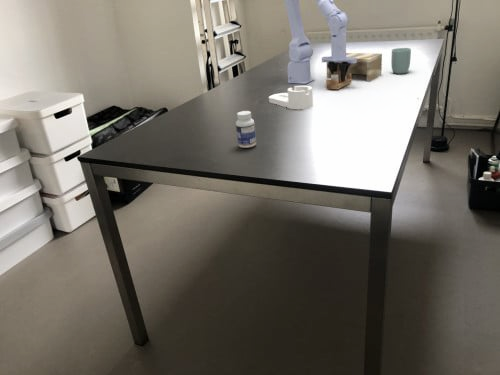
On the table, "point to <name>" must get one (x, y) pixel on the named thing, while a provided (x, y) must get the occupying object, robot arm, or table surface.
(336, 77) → the caddy
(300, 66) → the robot arm
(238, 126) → the pill bottle
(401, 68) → the cup
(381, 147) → the table surface
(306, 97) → the bracket
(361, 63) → the wooden crate
